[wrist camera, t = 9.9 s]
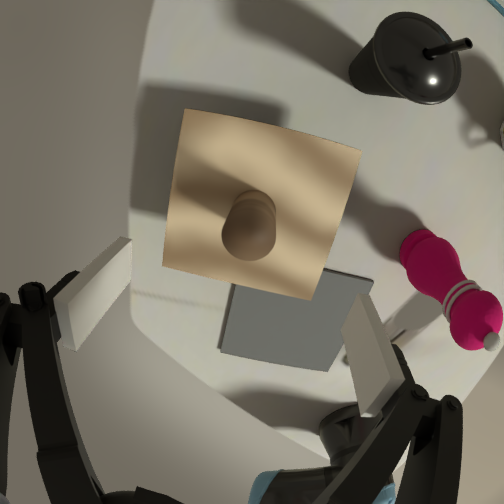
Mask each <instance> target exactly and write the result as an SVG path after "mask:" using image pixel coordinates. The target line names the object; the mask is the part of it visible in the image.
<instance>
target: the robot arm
mask: <svg viewBox="0 0 504 504" xmlns="http://www.w3.org/2000/svg"><path fill="white" fill-rule="evenodd" d="M131 254H132V239H129V238H125V237H119V238H118V239H117V240H116V241H115V242H114V243H113V244H111V245H110V246H109V247H108V248H107V249H105V250H104V251H103V252H102V253H101V254H100V255H99V256H98V257H97V258H96V259H94V260H93V261H92V262H91V263H90V264H89V265H88V266H87V267H86V268H85V269H84V270H82V271H81V272H79V271H76V270H75V271H73V272H70V273H68V274H66V275H65V276H64V277H63V278H62V279H61V281H59V282H58V283H57V284H56V285H54V286H53V287H52V288H51V289H50V290H49V291H48V292H47V293H46V290H45V287H44V285H43V284H41V283H38V282H30V283H26V284H24V285H22V286H21V287H20V288H19V291H18V294H19V299H20V303H21V305H20V304H13V303H11V301H10V298H9V296H8V295H7V294H6V293H0V504H10V502H9V501H8V499H7V498H6V489H7V453H8V434H9V421H10V412H11V403H12V395H13V388H14V383H15V377H16V371H17V366H18V361H19V356H20V352H21V348H23V357H24V370H25V378H26V387H27V393H28V400H29V407H30V412H31V418H32V422H33V428H34V432H35V437H36V441H37V445H38V452H37V461H38V465H39V468H40V472H41V475H42V478H43V481H44V484H45V487H46V491H47V493H48V496H49V499H50V502H51V504H183V503H181V502H179V501H177V500H175V499H173V498H171V497H169V496H167V495H164V494H160V493H157V492H154V491H150V490H147V489H144V488H141V487H138V486H137V487H136V491H116V492H111V493H107V494H105V493H104V490H103V488H102V486H101V484H100V482H99V480H98V478H97V476H96V474H95V472H94V470H93V467H92V465H91V462H90V460H89V457H88V454H87V452H86V449H85V447H84V444H83V441H82V438H81V435H80V432H79V429H78V426H77V423H76V420H75V417H74V413H73V410H72V406H71V403H70V399H69V396H68V392H67V387H66V383H65V379H64V375H63V371H62V366H61V361H60V356H59V352H58V346H57V342H58V341H59V339H60V338H61V339H62V344H63V347H66V348H68V349H70V350H73V351H75V352H77V351H78V349H79V348H80V346H81V345H82V344H83V342H84V341H85V339H86V338H87V337H88V335H89V334H90V333H91V331H92V330H93V329H94V327H95V326H96V324H97V323H98V322H99V321H100V319H101V318H102V317H103V315H104V314H105V313H106V311H107V310H108V309H109V307H110V306H111V304H112V303H113V302H114V301H115V300H116V298H117V297H118V296H119V295H120V293H121V292H122V291H123V289H124V288H125V287H126V285H127V284H128V283H129V282H130V281H131ZM341 333H342V337H343V341H344V345H345V349H346V353H347V357H348V361H349V365H350V370H351V374H352V378H353V383H354V387H355V392H356V396H357V401H358V405H354V406H350V407H346V408H343V409H340V410H338V411H336V412H334V413H332V414H330V415H329V416H327V417H326V418H325V419H324V420H323V421H322V422H321V424H320V426H319V434H320V439H321V441H322V443H323V445H324V447H325V449H326V451H327V453H328V455H329V457H330V464H331V466H328V467H319V468H308V469H294V470H283V469H280V470H278V471H265V472H262V473H261V474H259V475H258V477H256V479H255V481H254V483H253V485H252V488H251V492H250V496H249V501H248V504H394V503H395V504H456V503H457V496H458V489H459V480H460V470H461V458H462V437H463V436H462V435H463V409H462V404H461V403H460V401H459V400H458V399H457V398H456V397H454V396H452V395H445V396H444V397H443V398H442V399H441V400H440V401H439V400H435V399H432V398H429V394H428V392H427V391H426V389H424V388H423V387H422V386H420V385H418V384H415V381H414V379H413V376H412V374H411V371H410V369H409V367H408V366H407V362H406V360H405V357H404V355H403V353H402V351H401V350H400V349H399V347H398V346H397V345H396V344H391V343H390V340H389V338H388V336H387V333H386V331H385V329H384V326H383V324H382V322H381V320H380V317H379V315H378V313H377V311H376V308H375V306H374V304H373V302H372V300H371V298H370V295H366V294H361V293H358V294H357V296H356V298H355V300H354V303H353V305H352V307H351V309H350V311H349V313H348V315H347V318H346V320H345V322H344V324H343V326H342V328H341ZM410 440H411V441H410ZM409 442H410V446H409V451H408V456H407V460H406V465H405V469H404V473H403V476H402V480H401V484H400V487H399V491H398V494H397V498H396V496H395V484H394V481H393V475H392V472H393V471H394V469H395V467H396V466H397V464H398V462H399V460H400V459H401V457H402V455H403V453H404V451H405V450H406V448H407V446H408V444H409ZM395 500H396V501H395Z"/></svg>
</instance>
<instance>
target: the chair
mask: <svg viewBox="0 0 504 504" xmlns="http://www.w3.org/2000/svg"><path fill="white" fill-rule="evenodd" d="M487 1H489V2H490V3H491V4H492V5H493V6H494V7H495V8H496V9H497V10H498V11H499V12H500V13H501V14H502V15H503V16H504V8H503V7H502V6H501V5H500V4H499V3H498V2H497V1H496V0H487Z"/></svg>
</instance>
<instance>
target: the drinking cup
mask: <svg viewBox="0 0 504 504" xmlns="http://www.w3.org/2000/svg"><path fill="white" fill-rule="evenodd" d="M472 46H473V44H472V42H471V40H470V39H469V38H463V39H460V40H456V41H452V40H451V38H450V37H449V35H448V34H447V33H446V32H445V31H444V30H443V29H442V28H441V27H440V26H439V25H438V24H437V23H435V22H434V21H432V20H431V19H429V18H427V17H425V16H423V15H420V14H417V13H413V12H398V13H394V14H392V15H389V16H388V17H386V18H385V19H384V20H383V21H382V22H381V23H380V24H379V25H378V27H377V29H376V31H375V33H374V36H373V37H372V39H371V40H370V41H369V42H368V43H367V45H366V46H365V47H364V48H363V49H362V51H361V52H360V53H359V54H358V56H357V57H356V58H355V59H354V60H353V62H352V63H351V65H350V68H349V77H350V80H351V82H352V84H353V85H354V86H355V87H356V88H357V89H358V90H359V91H361V92H363V93H365V94H370V95H380V96H389V97H398V98H405V99H408V100H410V101H413V102H415V103H419V104H425V105H434V104H439V103H442V102H444V101H446V100H448V99H449V98H450V97H451V96H452V95H453V94H454V93H455V91H456V90H457V88H458V85H459V83H460V78H461V62H460V58H459V54H458V51H462V50H466V49H471V48H472Z"/></svg>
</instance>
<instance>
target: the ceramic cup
mask: <svg viewBox="0 0 504 504" xmlns="http://www.w3.org/2000/svg"><path fill="white" fill-rule="evenodd" d="M500 135H501V142H502V148H503V149H504V121H503V123H502V126H501V128H500Z"/></svg>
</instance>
